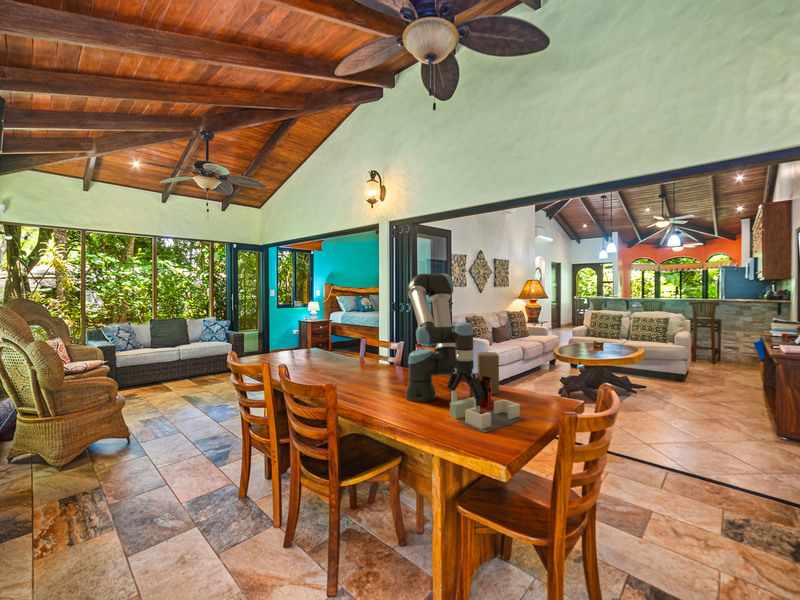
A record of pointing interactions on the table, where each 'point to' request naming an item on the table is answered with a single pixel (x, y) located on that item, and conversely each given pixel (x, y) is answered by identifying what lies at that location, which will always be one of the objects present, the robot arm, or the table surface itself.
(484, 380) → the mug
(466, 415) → the cap
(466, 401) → the slat
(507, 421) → the mat
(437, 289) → the robot arm
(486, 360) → the wooden block
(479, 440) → the table surface
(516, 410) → the cap
